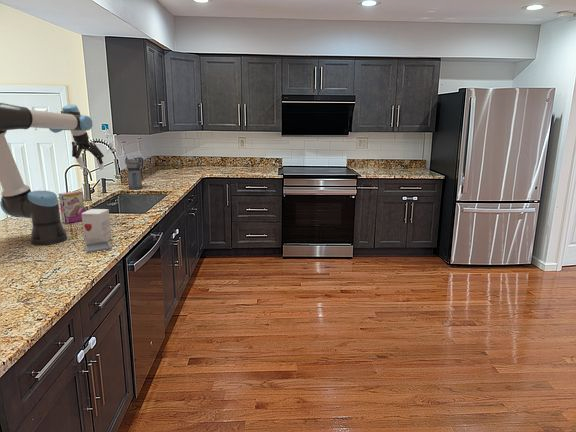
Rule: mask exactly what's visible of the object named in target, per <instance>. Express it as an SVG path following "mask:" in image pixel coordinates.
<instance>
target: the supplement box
mask: <svg viewBox="0 0 576 432" xmlns="http://www.w3.org/2000/svg"><path fill="white" fill-rule="evenodd" d="M109 211H110V210H109V209H108V208H107V209H105V208H101V209H100V208H89V209H88V210H86V211H85V212H83V213H82V221H81V222H82V230H83V236H84V237H83V238H84V245H85V244H90V243H96V242H103V241H109V242H110V241H111V240H112V230H111V229H112V228H111V219H110V212H109ZM110 239H111V240H110Z"/></svg>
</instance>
